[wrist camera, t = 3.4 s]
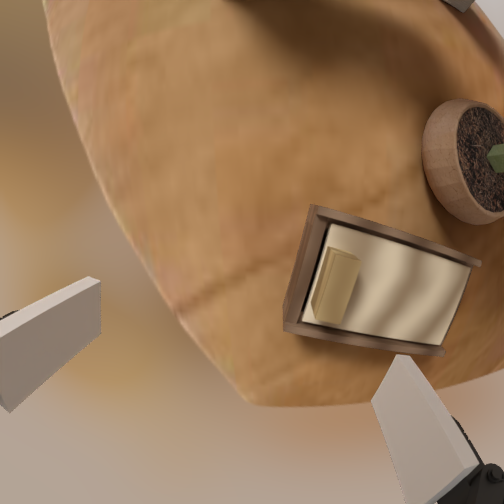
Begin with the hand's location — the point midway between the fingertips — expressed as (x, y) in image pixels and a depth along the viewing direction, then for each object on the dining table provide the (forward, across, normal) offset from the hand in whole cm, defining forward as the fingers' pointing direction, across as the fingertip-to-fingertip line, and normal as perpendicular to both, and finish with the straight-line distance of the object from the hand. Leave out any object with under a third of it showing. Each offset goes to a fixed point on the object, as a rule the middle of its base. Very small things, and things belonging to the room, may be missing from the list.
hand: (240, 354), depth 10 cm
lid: (+17, +15, 0) cm, 23 cm away
